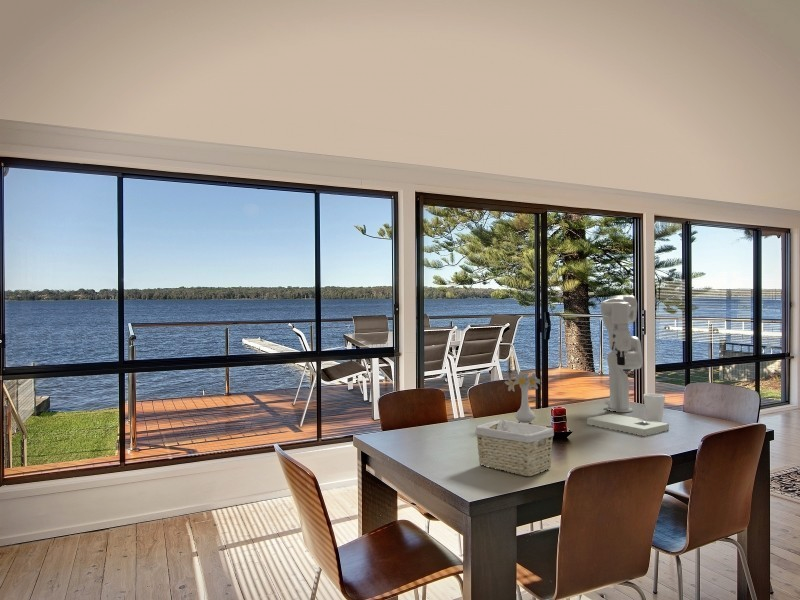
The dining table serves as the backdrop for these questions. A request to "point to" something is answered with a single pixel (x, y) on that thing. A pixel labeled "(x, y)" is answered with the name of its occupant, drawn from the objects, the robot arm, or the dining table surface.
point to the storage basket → (515, 447)
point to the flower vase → (524, 395)
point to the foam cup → (654, 406)
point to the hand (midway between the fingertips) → (621, 364)
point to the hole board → (628, 424)
